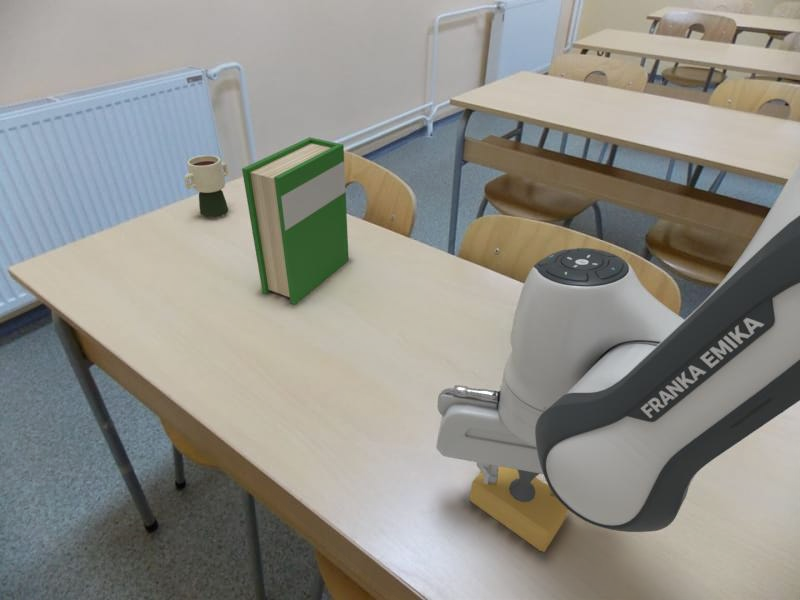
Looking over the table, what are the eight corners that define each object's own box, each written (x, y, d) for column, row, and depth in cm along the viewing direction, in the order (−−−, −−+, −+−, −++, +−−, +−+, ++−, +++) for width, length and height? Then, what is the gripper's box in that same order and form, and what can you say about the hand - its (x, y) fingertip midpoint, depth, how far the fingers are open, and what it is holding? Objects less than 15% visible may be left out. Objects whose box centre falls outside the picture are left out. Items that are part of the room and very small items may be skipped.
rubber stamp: (566, 517, 60) (590, 452, 53) (543, 554, 57) (565, 489, 50) (493, 470, 66) (506, 404, 58) (467, 501, 62) (478, 435, 55)
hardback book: (294, 304, 93) (278, 178, 79) (262, 292, 96) (241, 168, 82) (348, 260, 106) (343, 144, 92) (319, 251, 108) (309, 137, 94)
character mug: (224, 202, 126) (214, 150, 119) (243, 210, 123) (234, 157, 115) (185, 217, 119) (172, 163, 112) (204, 227, 116) (191, 171, 108)
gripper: (434, 406, 49) (427, 492, 57) (661, 444, 46) (619, 529, 54) (443, 362, 54) (435, 447, 62) (648, 393, 51) (611, 478, 59)
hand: (522, 485), depth 58 cm, fingers open, 6 cm apart
